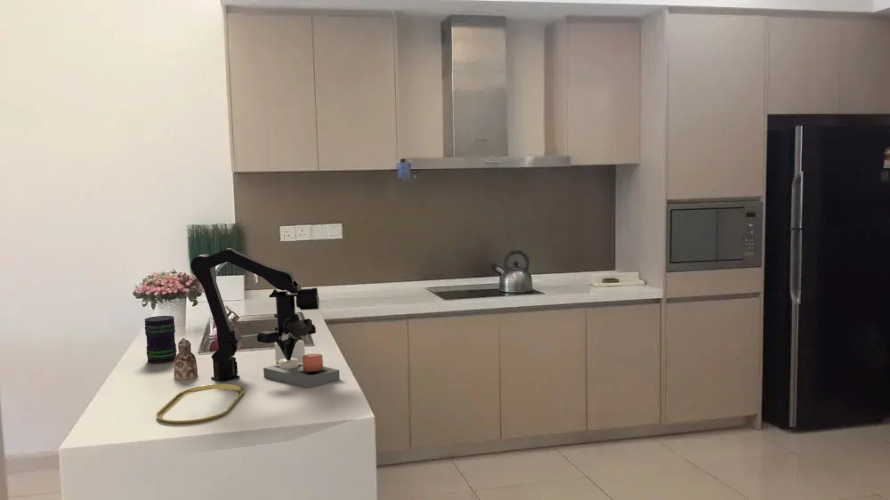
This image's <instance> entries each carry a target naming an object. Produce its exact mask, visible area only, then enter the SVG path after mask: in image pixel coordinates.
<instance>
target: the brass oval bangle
mask: <svg viewBox="0 0 890 500" xmlns="http://www.w3.org/2000/svg"><path fill="white" fill-rule="evenodd" d="M211 390H230V391H234V392H236V393H238V395H237V396H236V397H235V398H234V400H232V402H231V403H230V404H229V406H227V408H226V409H225V410H224V411H222V412H220V413H217V414H215V415H211V416H207V417H203V418H202V417H201V418H196V419H195V418H194V419H187V420H175V419H174V420H173V419H172V420H171V419H166V418H163V417H164V416H165V415H166V414H167V413H168V412H170V411H171V410H172V409H173V408H174V407H175V406H176V405H178V403H179V402H180V401H181V400H182V399H183V398H185V397H187V396H188V395H191V394H195V393H199V392H204V391H211ZM244 392H245V389H244V387H243V386H240V385H237V384H233V383H217V384H216V383H215V384H205V385H200V386H199V385H198V386H195V387H194V386H193V387H191V388H190V387H189V388H188V389H185V390H182V391H180V392H178V393H177V394H175V396H174V397H173V398H171V399H170V400H169V401H168V402H167V403H166V404H165V405H163V406H162V407H161V408H159V410H158V411H157V412H156V415H155V416H156V418H157V419H158V420H159V421H161V422H162V423H166V424H170V425H171V424H172V425H189V424H199V423H206V422H208V421H212V420H216V419H218V418H221V417H223V416H225V415H226V414H227V413H228V412H229V411H230V410H231V408H232V407H233V406H234V405H235V403H236V402H237V401H238V400H239V399H240V397H241V396H242V395H243V394H244Z"/></svg>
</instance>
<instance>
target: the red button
mask: <svg viewBox="0 0 890 500" xmlns="http://www.w3.org/2000/svg"><path fill="white" fill-rule="evenodd" d="M302 359H303V370H304V371H319V370H322V369H323V366H324V360H323V354H321V353H308V354H305V355H304V356H302Z"/></svg>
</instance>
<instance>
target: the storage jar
mask: <svg viewBox="0 0 890 500" xmlns="http://www.w3.org/2000/svg"><path fill="white" fill-rule="evenodd" d="M144 326H145V327H144V331H145V336H146V347H145V348H146V358H147V363H148V364H151V365H152V364H153V365H159V364H160V365H161V364H168V363H169V364H170V363H172V362H175V357H176V355H177V354H178V353H177V352H178V350H177V344H176V338H175V335H176V334H175V333H176V324H175V316H173V315H156V316H150V317H145V318H144Z"/></svg>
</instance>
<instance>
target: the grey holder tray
mask: <svg viewBox="0 0 890 500" xmlns="http://www.w3.org/2000/svg"><path fill="white" fill-rule="evenodd" d="M340 377H341V376H340V369H338V368H337V369H336V368H332V367H327V366H324V365H323V369H322V370H319V371H304V370H303V362H300V361H299V367H296V368H292V369H288V370H286V369H281V368H279V364H277V363H276V364H273V365H269V366H266V367H263V378H266V379H270V380H275V381H278V382H281V383H287V384H290V385H293V386H298V387H302V388H305V389H310V388H311V389H312V388H315V387H318V386H321V385H324V384H325V385H326V384H328V383H332V382H335V381H340V379H341V378H340Z"/></svg>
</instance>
